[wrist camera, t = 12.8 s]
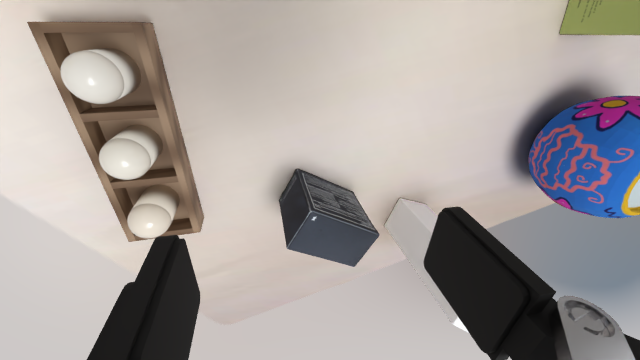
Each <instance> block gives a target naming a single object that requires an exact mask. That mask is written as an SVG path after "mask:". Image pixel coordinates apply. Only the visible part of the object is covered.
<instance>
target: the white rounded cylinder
mask: <svg viewBox="0 0 640 360" xmlns="http://www.w3.org/2000/svg"><path fill="white" fill-rule="evenodd" d="M60 72H61V78H62V81H63V83H64V84H65V86H66V87H67V89H68V90H69V91H70V92H71V93H72V94H74V95H75V96H77V97H78V98H80V99H82V100H84V101H87V102H90V103H94V104H107V103H111V102H114V101H116V100H118V99H120V98H122V97H124V96H126V95H128V94H130V93H132V92H134V91H135V90H136V89H137V88H138V87H139V85H140V83H141V72H140V69H139V67H138V65H137V64H136V62H135V61H134V60H133V59H132V58H131V57H130V56H129V55H128V54H126V53H124V52H122V51H120V50H118V49H113V48H103V49H94V50H84V51H78V52H74V53H72V54H70V55H69V56H67V57H66V58H65V59H64V61H63V63H62V65H61V70H60Z"/></svg>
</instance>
